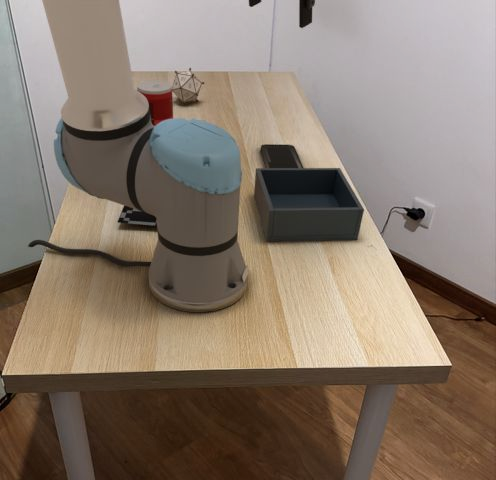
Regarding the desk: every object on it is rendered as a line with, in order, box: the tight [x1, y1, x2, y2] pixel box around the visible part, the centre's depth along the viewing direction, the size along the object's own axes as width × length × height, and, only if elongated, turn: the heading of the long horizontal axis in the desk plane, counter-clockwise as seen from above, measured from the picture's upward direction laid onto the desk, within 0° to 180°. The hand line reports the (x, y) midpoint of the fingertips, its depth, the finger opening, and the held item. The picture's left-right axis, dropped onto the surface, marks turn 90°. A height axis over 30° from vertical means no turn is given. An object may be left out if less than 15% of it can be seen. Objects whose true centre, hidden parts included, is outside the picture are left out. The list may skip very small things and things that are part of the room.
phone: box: [260, 143, 304, 168], centre depth 118 cm, size 8×1×15 cm
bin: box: [253, 167, 365, 243], centre depth 99 cm, size 17×17×6 cm
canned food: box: [136, 79, 174, 126], centre depth 123 cm, size 8×8×11 cm
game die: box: [172, 67, 206, 106], centre depth 142 cm, size 9×8×10 cm
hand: (279, 14), depth 103 cm, fingers open, 13 cm apart
